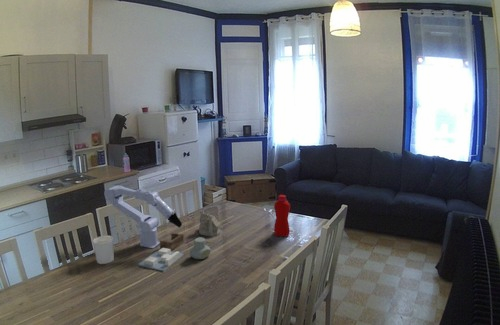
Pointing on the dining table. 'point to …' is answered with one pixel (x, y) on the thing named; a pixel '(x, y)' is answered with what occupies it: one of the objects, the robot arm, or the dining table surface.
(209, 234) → the beige rock
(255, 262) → the dining table surface
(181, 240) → the wooden c-shaped bracket
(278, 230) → the water bottle
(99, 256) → the candle holder
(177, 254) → the display stand
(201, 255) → the air freshener
